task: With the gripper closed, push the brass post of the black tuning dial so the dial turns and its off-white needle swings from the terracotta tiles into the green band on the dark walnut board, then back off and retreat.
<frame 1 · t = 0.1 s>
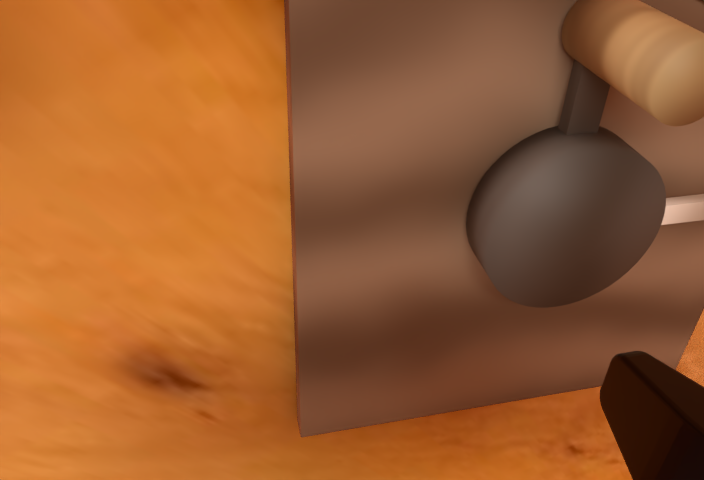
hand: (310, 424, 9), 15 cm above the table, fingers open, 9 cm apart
peg dial: (684, 178, 23), point 4 cm above the table, hinge at 0.0°
tuner board: (536, 188, 26), on the table
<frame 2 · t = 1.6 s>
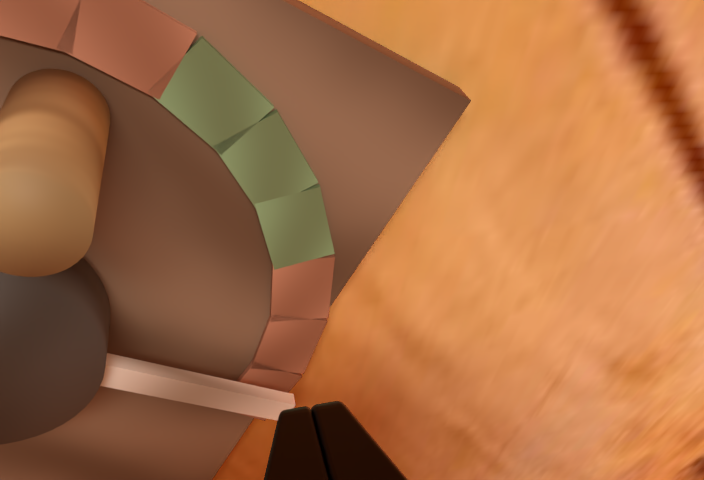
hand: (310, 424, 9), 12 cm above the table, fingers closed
peg dial: (117, 343, 18), point 4 cm above the table, hinge at 0.0°
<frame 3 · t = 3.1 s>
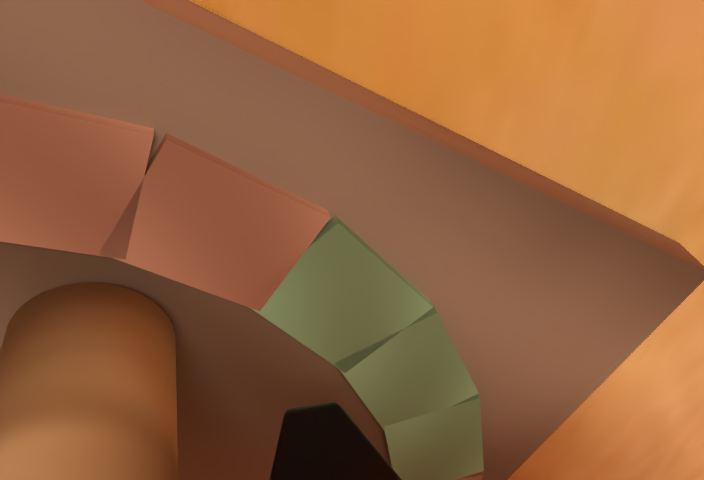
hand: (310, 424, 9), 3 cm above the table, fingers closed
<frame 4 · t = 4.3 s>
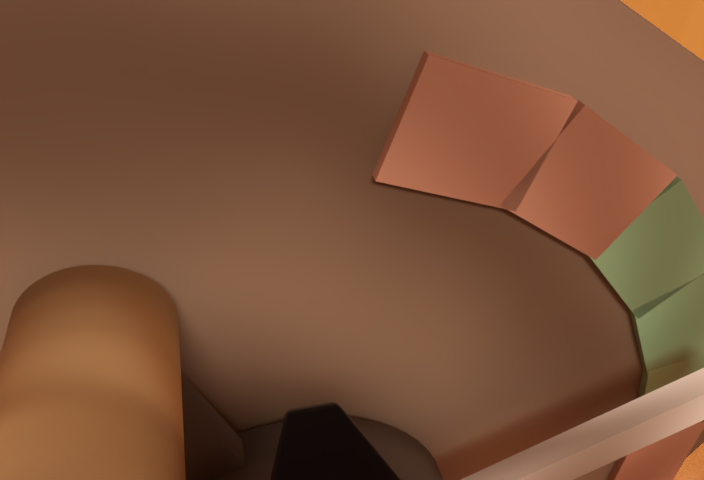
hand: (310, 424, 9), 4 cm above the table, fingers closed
tuner board: (280, 475, 15), on the table
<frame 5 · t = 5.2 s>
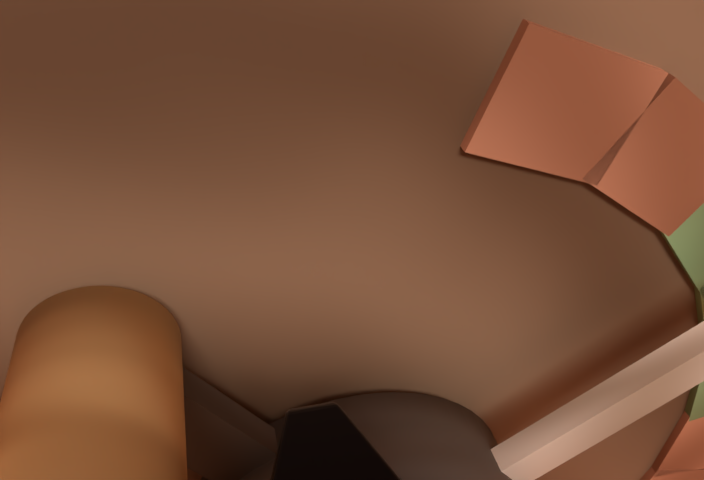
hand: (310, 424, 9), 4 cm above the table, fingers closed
tuner board: (335, 452, 15), on the table
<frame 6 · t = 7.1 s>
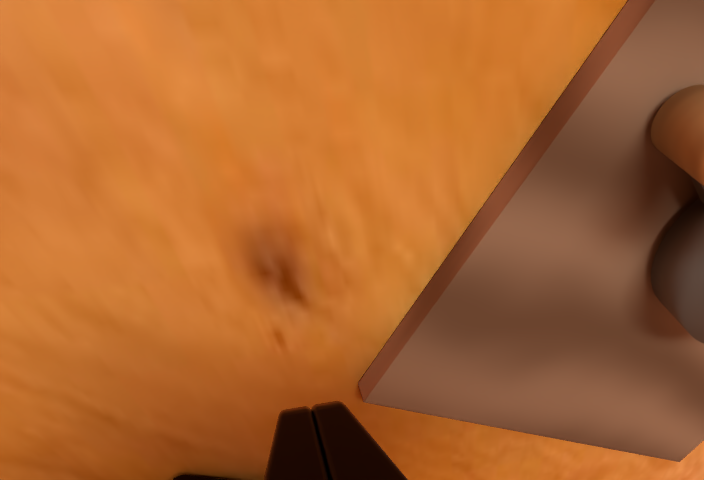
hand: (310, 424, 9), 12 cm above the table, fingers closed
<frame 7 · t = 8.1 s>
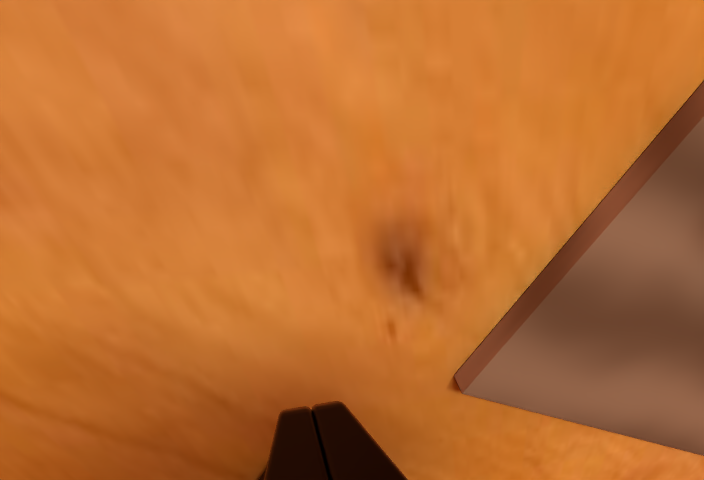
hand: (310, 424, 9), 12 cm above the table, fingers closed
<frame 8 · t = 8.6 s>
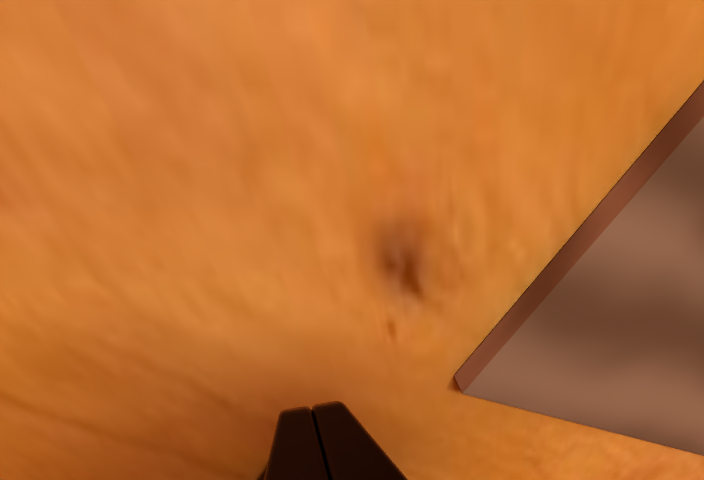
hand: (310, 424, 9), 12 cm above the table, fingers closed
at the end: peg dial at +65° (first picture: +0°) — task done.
